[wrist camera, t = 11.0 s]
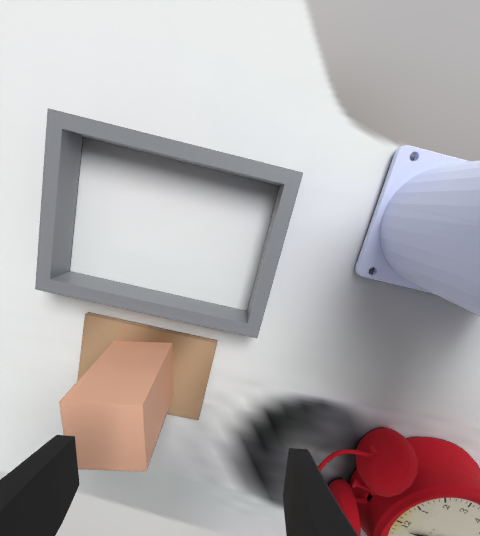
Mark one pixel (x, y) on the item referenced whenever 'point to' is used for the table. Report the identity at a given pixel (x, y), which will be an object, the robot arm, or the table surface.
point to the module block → (120, 406)
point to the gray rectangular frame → (128, 296)
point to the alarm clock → (409, 487)
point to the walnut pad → (183, 345)
